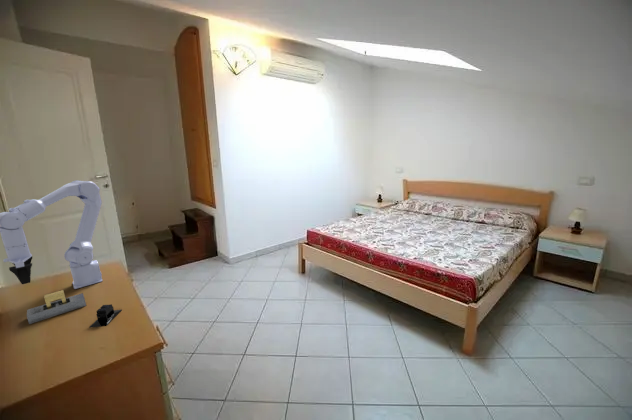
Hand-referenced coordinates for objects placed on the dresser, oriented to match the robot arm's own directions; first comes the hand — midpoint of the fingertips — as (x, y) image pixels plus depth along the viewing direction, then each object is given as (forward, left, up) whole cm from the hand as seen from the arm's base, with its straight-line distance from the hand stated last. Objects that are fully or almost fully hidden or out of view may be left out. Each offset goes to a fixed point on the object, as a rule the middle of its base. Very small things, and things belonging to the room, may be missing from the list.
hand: (26, 279), depth 103 cm
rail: (-7, +14, -10) cm, 18 cm away
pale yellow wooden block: (-7, +14, -9) cm, 18 cm away
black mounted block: (-18, +32, -11) cm, 38 cm away
